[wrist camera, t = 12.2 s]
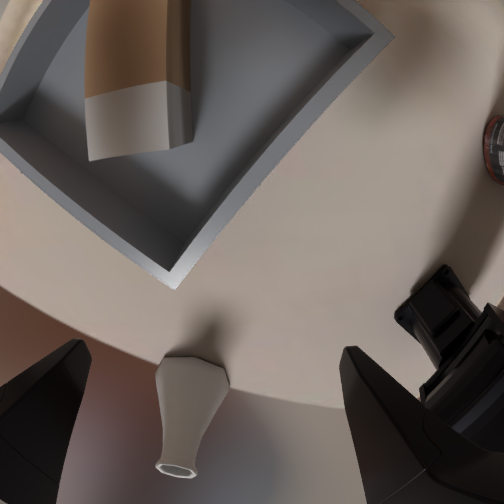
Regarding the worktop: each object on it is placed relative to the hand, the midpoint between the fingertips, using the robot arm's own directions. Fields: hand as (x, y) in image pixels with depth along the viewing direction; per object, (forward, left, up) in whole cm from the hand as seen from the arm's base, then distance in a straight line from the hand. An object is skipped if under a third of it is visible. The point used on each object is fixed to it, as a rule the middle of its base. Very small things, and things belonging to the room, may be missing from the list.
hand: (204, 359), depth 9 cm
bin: (+10, -6, -11) cm, 16 cm away
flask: (-6, +14, -11) cm, 19 cm away
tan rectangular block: (+10, -6, -10) cm, 15 cm away
